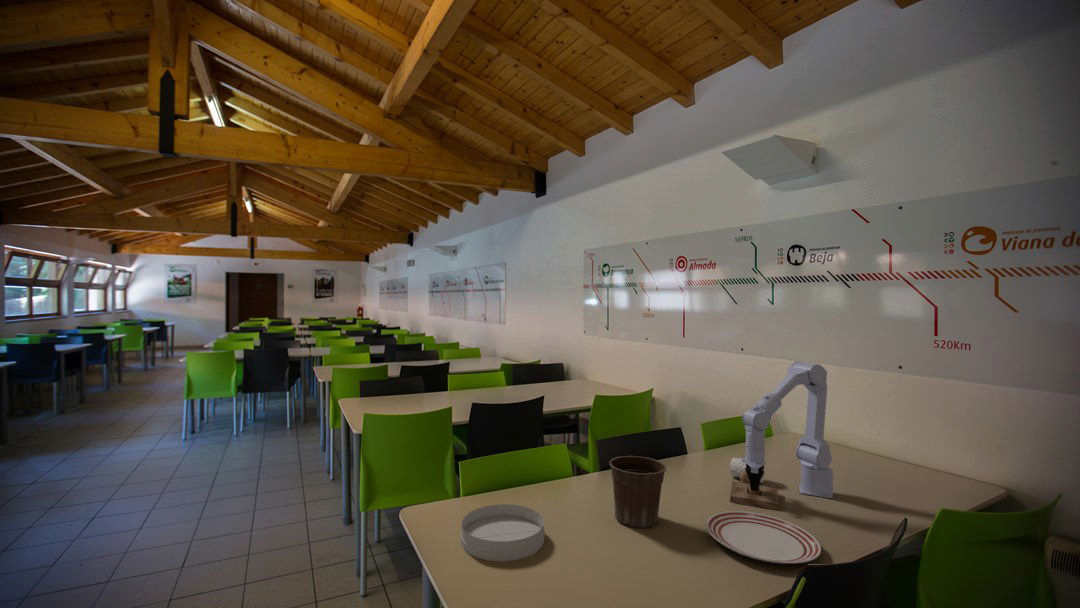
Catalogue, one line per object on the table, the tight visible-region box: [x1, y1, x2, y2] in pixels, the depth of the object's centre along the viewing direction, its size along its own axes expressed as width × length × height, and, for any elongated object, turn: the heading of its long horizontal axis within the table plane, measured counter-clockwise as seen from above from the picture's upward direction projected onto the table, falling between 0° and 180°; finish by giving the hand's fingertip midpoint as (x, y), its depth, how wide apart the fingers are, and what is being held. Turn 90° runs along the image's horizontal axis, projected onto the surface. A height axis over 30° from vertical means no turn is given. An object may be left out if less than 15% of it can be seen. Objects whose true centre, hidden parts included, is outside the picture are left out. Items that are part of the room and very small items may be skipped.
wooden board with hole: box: [729, 481, 780, 511], centre depth 159 cm, size 14×14×2 cm
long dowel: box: [749, 483, 761, 495], centre depth 159 cm, size 3×3×7 cm
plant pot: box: [609, 455, 667, 529], centre depth 142 cm, size 16×16×16 cm
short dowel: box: [740, 472, 749, 484], centre depth 171 cm, size 3×3×4 cm
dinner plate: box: [705, 510, 822, 565], centre depth 128 cm, size 27×27×3 cm
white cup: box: [729, 457, 765, 484], centre depth 176 cm, size 8×8×10 cm
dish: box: [460, 503, 546, 562], centre depth 128 cm, size 22×22×5 cm
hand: (754, 488), depth 159 cm, fingers closed on long dowel, 3 cm apart
